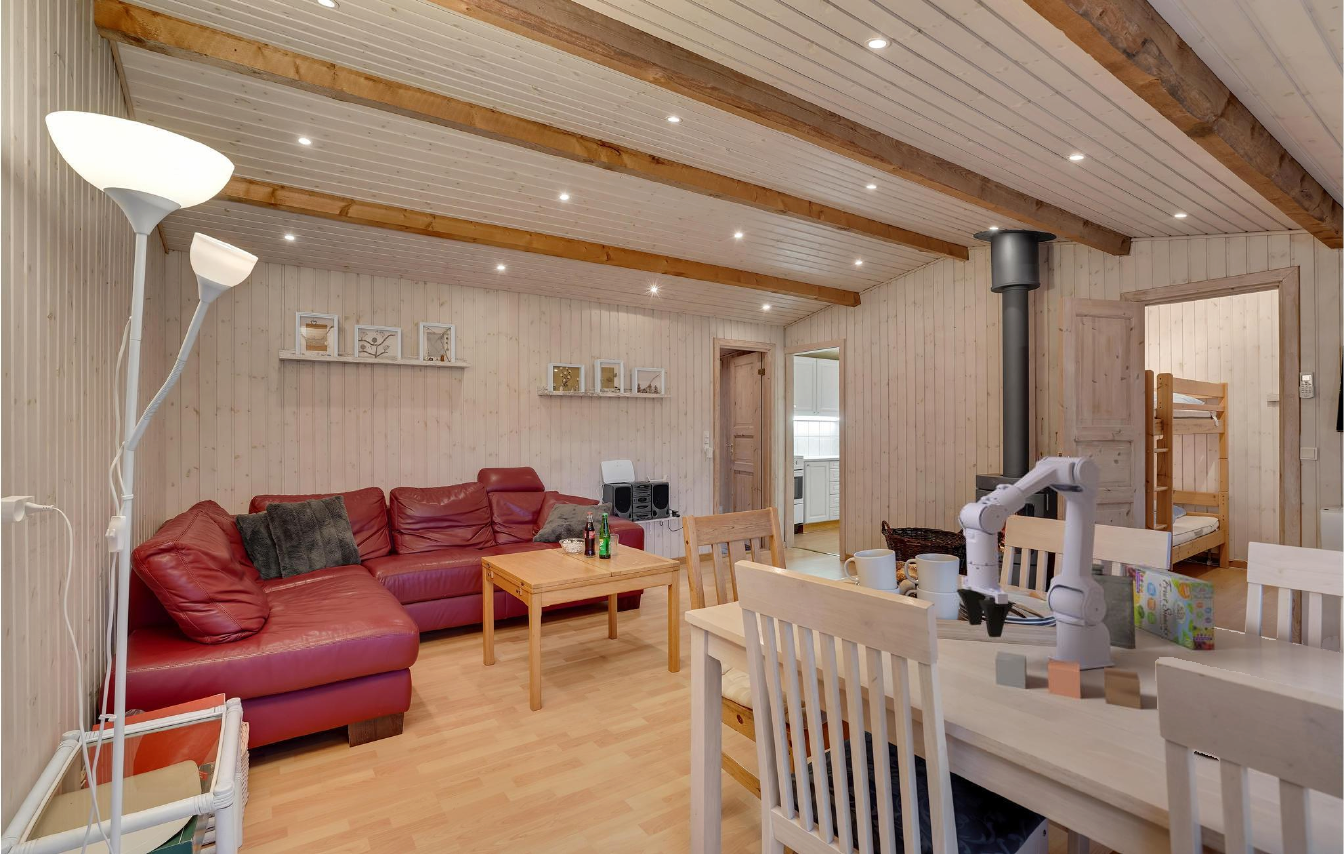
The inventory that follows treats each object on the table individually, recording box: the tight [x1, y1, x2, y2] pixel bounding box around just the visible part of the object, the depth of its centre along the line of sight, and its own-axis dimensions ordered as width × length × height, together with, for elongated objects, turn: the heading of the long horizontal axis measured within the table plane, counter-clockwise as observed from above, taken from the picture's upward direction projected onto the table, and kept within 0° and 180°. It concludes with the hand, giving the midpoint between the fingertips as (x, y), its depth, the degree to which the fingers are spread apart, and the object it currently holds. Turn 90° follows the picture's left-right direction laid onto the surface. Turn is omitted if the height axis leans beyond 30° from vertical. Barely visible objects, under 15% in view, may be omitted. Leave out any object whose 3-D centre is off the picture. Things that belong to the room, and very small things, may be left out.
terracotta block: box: [1047, 658, 1081, 700], centre depth 118 cm, size 5×5×5 cm
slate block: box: [995, 651, 1028, 690], centre depth 123 cm, size 5×5×5 cm
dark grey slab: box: [1069, 563, 1136, 650], centre depth 146 cm, size 4×14×18 cm, turn 36°
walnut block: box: [1103, 667, 1142, 710], centre depth 113 cm, size 5×5×5 cm
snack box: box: [1124, 564, 1215, 651], centre depth 149 cm, size 21×6×15 cm, turn 179°
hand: (984, 630), depth 125 cm, fingers open, 7 cm apart
